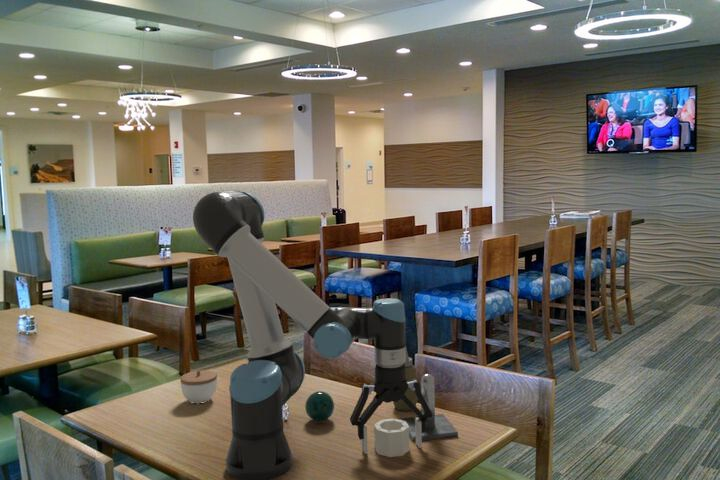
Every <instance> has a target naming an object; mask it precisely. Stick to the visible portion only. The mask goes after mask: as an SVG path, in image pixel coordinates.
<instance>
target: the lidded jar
mask: <svg viewBox="0 0 720 480" xmlns="http://www.w3.org/2000/svg"><path fill="white" fill-rule="evenodd" d="M217 375H218V374H217V373H216V372H215V371H214V370H200V369H198V370H195V371H190V372H187V373H186V372H185V373H184V374H183V375H181V376H180V378H179V379H180V387H181V392H182V395H183V397H184V398H185V399H186V400H187V401H188V402H189V403H190V402H193V403H201V402H205V401H208V400H210V401H211V399H212V398H213V396H214V395H215V394H216V391H217V387H218V385H217V383H218V380H217V378H218V376H217ZM208 402H209V401H208Z"/></svg>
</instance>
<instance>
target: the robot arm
mask: <svg viewBox="0 0 720 480" xmlns="http://www.w3.org/2000/svg"><path fill="white" fill-rule="evenodd" d="M192 222H193V226H194V229H195V231H196V233H197V234H198V236H199V237H200V239H202V241H203V242H204V243H205V244H206V246H208V247H209V248H210V249H211V250H212V251H213V252H214V253H215V254H216V255H217V256H218V257H220V258H227V261H228V265H229V270H230V273H231V277H232V280H233V284H234V288H235V292H236V295H237V300H238V302H239V306H240V311H241V314H242V318H243V322H244V325H245V328H246V332H247V337H248V340H249V344H250V350H249V351H248V353H247V354H246V357H247V363H242V364H240V365H238V366H237V367H235V369H233V371H232V372H231V375H230V378H229V379H230V381H229V388H228V389H229V394H230V395H229V397H230V399H229V400H230V411H231V412H230V413H231V416H230V417H231V434H232V435H231V441H230V443H229V446H228V447H229V448H228V451H227V454H226V458H225V471H226V473H227V475H228V476H230V477H231V478H232V479H235V480H271V479H275V478H278V477H280V476H281V475H283V474H285V473H286V472H288V471H289V470H290V469H291V467H292V465H293V455H292V450H291V448H290V445H289V442H288V439H287V437H286V434H285V432H284V431H285V430H284V419H283V418H284V415H283V407H284V406H285V405H286V403H287V402H288V401H289V400H290V399H291V397H293V396H295V395H296V394H297V392H298V391H299V389H300V388H301V387H302V385H303V382H304V380H305V375H306V368H305V363H304V360H303V358H302V357H301V356H300V354H298V353H297V352H296V351H295V350H294V346H293V342H292V341H291V340H288V339H287V338H285V335H284V331H283V327H282V324H281V323H282V322H281V319H280V316H279V313H278V308H277V306H278V307H279V308H280V309H281V310H282V311H284V313H286V314H287V315H288V316H289V317H290V319H292V320H293V321H294V322H295V323H296V324H297V325H298V326H299V327H301V329H303V330H304V331H305V333H307V334H308V335H309V336H310V337H311V338H312V339H313V340H312V343H313V345H314V349H315V351H316V352H317V353H318V354H319V355H320V356H322V357H323V358H326V359H336V358H338V357H340V356H342V355H344V353H346V352H347V351H348V350H349V349H350V347H351V345H352V344H353V343H354V342H355V341H356V340H373V343H374V344H373V345H374V363H375V365H374V384H373V385H372V384H369V385H368V384H367V383H363V384H362V386H361V393H360V396H359V397H358V400H357V402H356V404H355V406H354V409H353V411H352V413H351V416H350V418H349V421H350V424H351V425H352V426H356V427H357V436H358V439H359V440H361V444H362V445H361V446H362V447H361V448H362V451H363V454H366V455H367V454H368V427H367V425H366V424H367V422H368V421H369V420H370V419H371V417H372V416H373V414H374V413H375V412H376V411H377V409H378V408H379V407H380V406H381V405H382V404H383V402H384V403H385V404H387V403H388V404H389V403H391V402H392V403H393V402H398V401H399V400H400V399H402V400H403V401H404V402H405V403H406V404H407V405H408V406H409V407H410V409H411V410H410V411H412V412H413V413H414V414H415V415H416V417H419V418H415V429H416V441H415V444H416V446H417V448H419V449H421V448H423V440H422V433H425V422H426V420H427V418H431V417H432V416H433V414H432V412H431V410H430V409H429V407H428V405H427V403H426V401H425V399H424V397H423V395H422V393H421V385H420V383H419V381H418V379H417V380H416V379H413V380H412V381H411V382H407V381H406V365H405V362H406V351H405V346H406V313H405V304H404V302H403V301H402V300H400V299H397V298H379V299H376V300H374V301H373V303H372V304H373V306H372V307H349V306H348V307H347V306H338V307H336V306H335V307H332V306H331V307H330V306H329V305H328V304H327V303H326V302H325V301H324V300H322V298H321V297H319V296H318V295H317V294H316V293H315V292H314V291H313V290H312V289H311V288H310V287H309V286H307V284H306V283H304V282H303V281H302V279H300V278H299V277H298V276H297V275H296V274H295V273H294V272H292V270H290V269H289V268H288V267H287V266H286V265H285V263H283V262H282V261H281V260H280V259H279V258H278V257H276V255H275V254H273V253H272V251H270V250H269V249H268V248H267V247H266V246H265V245H264V244H263V243H264V240H265V235H264V231H263V227H262V226H263V225H264V222H265V210H264V208H263V205H262V203H261V201H260V200H259V199H258V198H257V196H254V195H253V194H252V193H249V192H246V191H241V190H230V191H214V192H210V193H208V194H206V195H204V196H202V197H201V198H200V199H199V200H198V201H197V202H196V205H195V207H194V209H193V214H192ZM408 387H410V389H411V390H413V391H414V392H415V394H416V396H417V398H418V400H417V401H418V402H419V403H420V406H422V408H423V409H424V411H425V412H423V413H422V412H421V410H420V409H419V408H418V407H417V405H416V406H415V405H414V404H413V403H412V402H411V401H410V399H409V398H408V397H407V396H406V395H405V392H406V391H407V389H408ZM373 391H374V393H376V394H375V395H374V397H373V398H372V401H371V402H370V403H369V404H368V406H367V407H366V408H365V409H364V407H365V406H366V403H367V400H369V399H368V398H369V396H370V395H371V394H372V392H373Z"/></svg>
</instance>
